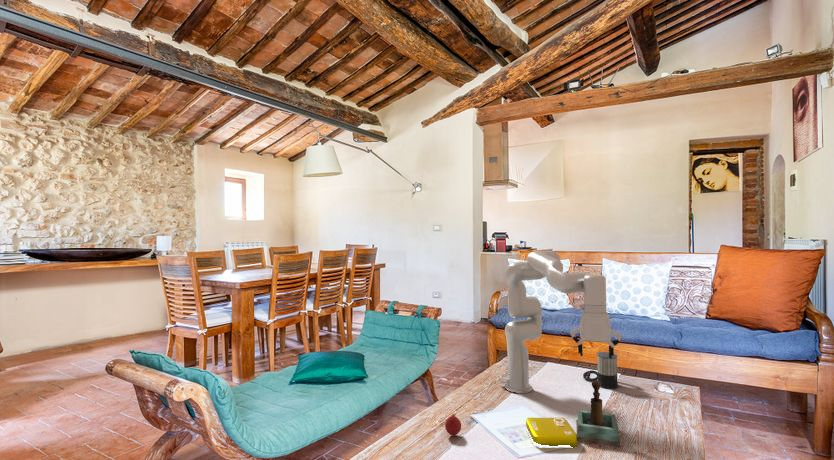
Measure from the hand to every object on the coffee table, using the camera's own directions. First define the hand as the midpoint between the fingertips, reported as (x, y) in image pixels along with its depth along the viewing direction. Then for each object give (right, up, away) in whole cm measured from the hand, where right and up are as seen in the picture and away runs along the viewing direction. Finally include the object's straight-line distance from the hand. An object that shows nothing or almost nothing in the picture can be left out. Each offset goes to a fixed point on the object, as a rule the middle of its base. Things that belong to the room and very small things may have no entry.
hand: (595, 356), depth 151 cm
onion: (-51, -29, +1) cm, 59 cm away
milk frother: (+24, -28, +50) cm, 62 cm away
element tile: (-17, -29, -1) cm, 34 cm away
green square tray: (0, -28, 0) cm, 28 cm away
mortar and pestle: (0, -27, 0) cm, 27 cm away
